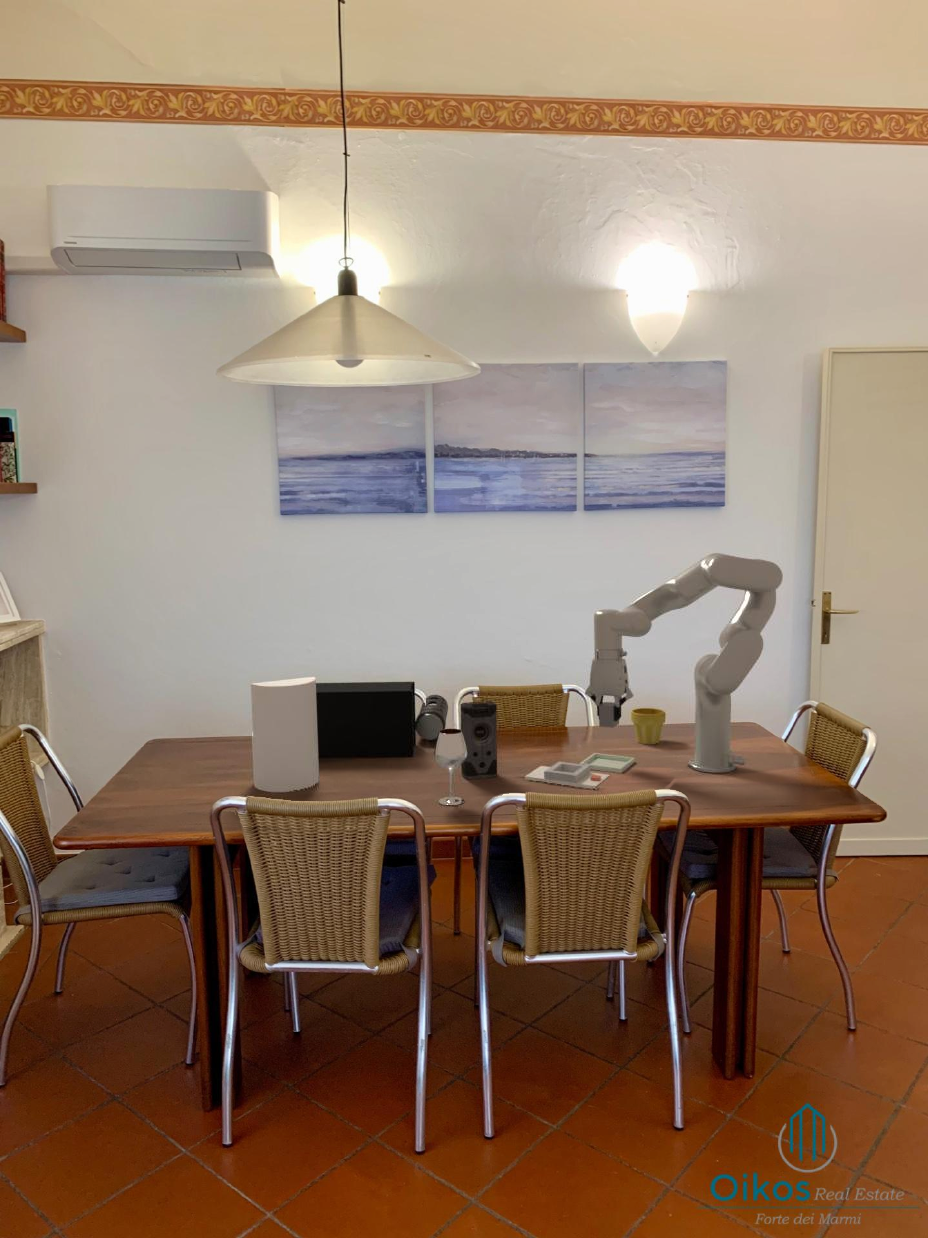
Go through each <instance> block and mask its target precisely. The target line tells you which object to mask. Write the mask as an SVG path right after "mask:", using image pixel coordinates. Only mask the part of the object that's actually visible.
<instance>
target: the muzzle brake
mask: <svg viewBox="0 0 928 1238" xmlns="http://www.w3.org/2000/svg"><path fill="white" fill-rule="evenodd" d="M425 699H426V705H425V703H423V702H422V704H421V707H420V710H419V712H418V714H417V716H416V717H415V719H416V733H417V734H416V735H418V736H419V737H420V738H421V739H423V740H427V741H434V740H435V741H436V740H437V737H438V733H439V731H440V730H442V729H446V725H447V717H448V716H447V715H448V711H449V704H448V702H447V700H446V699H445V698H444V697H443V696H441V695H439V694H432V695H428V696H427V697H426V698H425Z"/></svg>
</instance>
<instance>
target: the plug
mask: <svg viewBox="0 0 928 1238" xmlns="http://www.w3.org/2000/svg"><path fill="white" fill-rule="evenodd" d="M614 707H615V701H613V702H612V701H605V702H604V701H603V703H602V704H600V705H599V716H598V722H599V723H598V724H599V727H601V728H612V729H613V728H615V727H616V726H618V725H620V719H619V720H618V721H614Z"/></svg>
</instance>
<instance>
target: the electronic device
mask: <svg viewBox="0 0 928 1238" xmlns="http://www.w3.org/2000/svg"><path fill="white" fill-rule="evenodd" d="M497 710H498V709H497V704H496V703H495V702H494V701H491V700H483V701H469V702H467V701H466V702H463V703H460V730H462V733H463V736H464V740H465V744H466V748H467V757H466V760H465V761H464V763H463V764H462V765H461V766H460V768H461V769H460V770H461V771H460V772H461V775H462V776H463V777H464V778H465V779H466V778H467V779H468V780H474V779H475V780H476V778H477V779H483V777H487V778H494V776H495V777H497V775H498V720H497V717H498V713H497Z"/></svg>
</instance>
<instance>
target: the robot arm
mask: <svg viewBox="0 0 928 1238" xmlns="http://www.w3.org/2000/svg"><path fill="white" fill-rule="evenodd" d="M782 582H783V572H782V570H781V567H779V565H777V564H776V563H775V562H772V561H770V560H765V559H761V558H753V559H752V558H747V557H746V558H745V557H739V556H734V555H729V554H726V553H725V554H724V553H721V552H714V553H710V554H708V555H706V556H704V557H702V558H701V559H700V560H698V561H697V562H695V563H694V564H692V565H691V566H689V567H688V568H687V569H685V570H683V572H681V573H679V574H677V575H676V576H674V577H673V578H671V579H670V580H668V581H666V582H664V583H663V584H661V585H659V586H658V587H656V588H654V589H652V590H650V591H648V592H647V593H645V594H644V595H642V596H641V597H639V598H637V599H636V600H635V601H633V602H631V603H630V604H629V605H627V606H626V607H624V609H623V610H622V611H620V610H618V609H609V608H608V609H599V610H597V611H595V613H594V614H593V637H594V639H593V640H594V646H593V647H594V657H593V658H592V660H591V665H590V673H589V675H590V676H589V685H588V686H587V688H586V690H585V691H584V694H585V695H586V696H587V697H588V698H590V699H591V700H592V701H593V702H594V703H595V704H594V705H595V706H596V715H597V716H596V717H599V705H600V704H602V703H604V697H606V696H609V697H613V698H614V702H615V707H614V721H618V720H619V721H620V720H621V718H622V705H624V704H625V702H627V701H629V700H630V699H631V698H634V694H633V692H632V690H631V688H630V686H629V685H630V684H629V683H630V682H629V681H630V680H629V675H628V674H629V673H628V667H627V666H628V665H627V662H626V658H624V657H627V656H628V651H626V650H624V648H623V636H624V637H632V638H640V637H644V636H646V635H648V634H649V632H650V631H651V629H652V626H653V625H652V624H653V623H652V621H654V620H655V619H658V618H659V617H660V616H662V615H664V614H666V613H669V612H671V611H676V610H681V609H683V608H686V607H689V606H690V605H692V604H693V603H695V602H696V601H698V600H699V599H700V598H702V597H703V596H705V595H706V594H708V593H710V592H711V591H712V590H715V589H716V588H718V587H723V588H727V589H733V590H740V591H744V594H743V595H744V597H743V600H742V601H741V603H740V605H739V607H738V608H737V610H736V611H735V612H734V614H733V615H732V617H731V618H730V620H729V621H728V623H727V624H726V626H725V627H724V628H723V630H722V631H721V633H720V635H719V638H718V642H719V643H718V644H719V646H720V651H719V653H718V654H714V653H712V654H711V653H710V654H705V655H703V656H702V657H701V658H699V660H698V661H697V662H696V664H695V666H694V672H693V677H694V691H695V693H694V694H695V712H694V714H695V715H694V718H695V719H694V757H693V758H691V759H689V761H688V767H690V768H691V769H693V770H695V771H698V772H699V771H700V772H703V773H713V774H717V773H719V774H721V773H723V774H724V773H729V772H732V771H734V770H735V769H736V765H739V766H746V763H747V759H746V758H745V757H743V756H737V755H735V754H734V752H733V750H732V749H731V724H732V723H731V720H732V719H731V718H732V694H733V693H734V692H736V690H737V689H738V688H739V687H740V685H741V684H742V683H743V682H744V681H745V679H746V677H747V676H748V675H749V673H750V672H751V671H752V669H753V667H754V666H755V664H756V663H757V662H758V660H759V659H760V657H761V655H762V652H763V649H764V639H763V635H762V634H761V633H762V631H763V630H764V628H765V627H766V626H767V623H768V622H769V620H770V619H771V617H772V615H773V613H774V612H775V607H776V605H777V589H779V587H780V586H781V585H782ZM624 695H625V696H624Z"/></svg>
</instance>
